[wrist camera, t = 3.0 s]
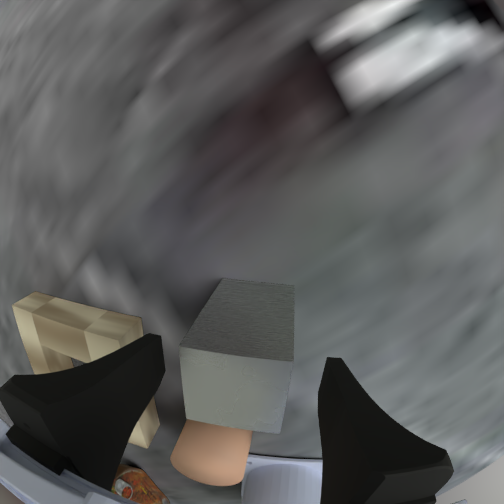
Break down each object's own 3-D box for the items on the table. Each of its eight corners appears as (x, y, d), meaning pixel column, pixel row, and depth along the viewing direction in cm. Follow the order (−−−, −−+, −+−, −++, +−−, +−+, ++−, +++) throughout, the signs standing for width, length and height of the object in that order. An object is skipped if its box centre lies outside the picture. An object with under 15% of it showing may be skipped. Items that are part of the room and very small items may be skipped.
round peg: (252, 442, 20) (242, 490, 15) (193, 432, 21) (175, 476, 16) (256, 404, 19) (245, 458, 14) (188, 392, 19) (165, 441, 15)
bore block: (160, 424, 21) (147, 448, 18) (65, 389, 22) (49, 406, 19) (141, 317, 18) (118, 340, 15) (35, 291, 19) (11, 305, 16)
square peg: (286, 345, 17) (279, 433, 10) (221, 337, 17) (186, 418, 11) (294, 285, 16) (293, 362, 9) (222, 278, 16) (178, 346, 10)
